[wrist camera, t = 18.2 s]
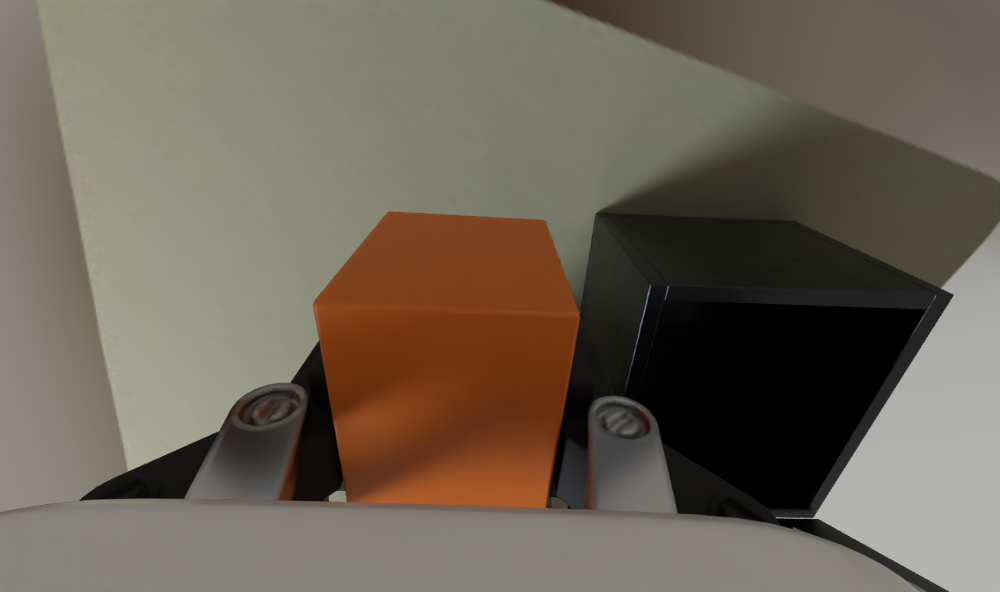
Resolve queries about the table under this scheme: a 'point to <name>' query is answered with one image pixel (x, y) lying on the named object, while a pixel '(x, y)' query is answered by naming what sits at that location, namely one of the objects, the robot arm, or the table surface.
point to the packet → (449, 361)
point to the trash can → (753, 343)
